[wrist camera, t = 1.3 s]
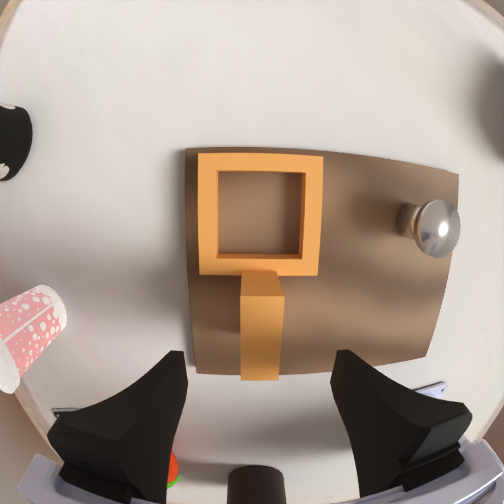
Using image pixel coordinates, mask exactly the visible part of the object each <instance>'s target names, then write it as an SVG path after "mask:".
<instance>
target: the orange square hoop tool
mask: <svg viewBox="0 0 504 504" xmlns="http://www.w3.org/2000/svg"><path fill="white" fill-rule="evenodd" d="M218 172H279V173H301V174H302V185H301V216H300V238H299V254H222V253H218ZM322 193H323V157H322V156H309V155H294V154H273V153H198V243H199V272H200V275H242V278H241V294H240V346H241V380H278V376H279V365H280V354H281V342H282V329H283V315H284V300H285V296H284V293H283V290H282V286H281V283H280V280H279V277H278V276H317V274H318V262H319V249H320V234H321V216H322Z"/></svg>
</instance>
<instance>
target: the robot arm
mask: <svg viewBox="0 0 504 504" xmlns="http://www.w3.org/2000/svg"><path fill="white" fill-rule="evenodd" d="M330 384H331V388H332V393H333V397H334V400H335V403H336V405H337V408H338V410H339V413H340V415H341V418H342V420H343V422H344V425H345V427H346V430H347V433H348V436H349V439H350V442H351V446H352V451H353V455H354V460H355V465H356V470H357V477H358V483H359V492H360V498H359V499H355V500H351V501H347V502H340V503H332V504H474V503H475V502H477V501H478V500H479V499H480V498H482V497H483V496H484V495H486V494H487V493H488V492H489V491H490V490H492V489H493V488H494V489H493V490H492V491H491V492H490V493H489V494H488V495H487V496H486V497H484V498H483V499H482V500H481V501H479V502H478V503H477V504H504V465H503V464H502V462H501V461H500V459H499V458H498V456H497V455H496V454H495V452H494V451H493V450H492V448H491V447H490V446H489V444H488V443H487V442H486V441H485V440H484V439H480V440H479V439H476V440H475V441H474V442H473V443H471V442H470V441H469V440H468V439H467V437H466V436H465V435H464V432H465V431H466V430H467V428H468V426H469V425H470V423H471V420H472V413H471V412H470V411H469V410H468V408H467V407H466V406H465V405H464V403H460V402H453V401H446V400H442V399H441V397H442V395H443V393H444V391H445V389H446V387H447V383H446V382H443V383H439V384H436V385H433V386H430V387H426V388H423V389H419V390H416V391H413V390H411V389H409V388H407V387H405V386H403V385H401V384H399V383H397V382H395V381H393V380H392V379H390V378H388V377H387V376H385V375H384V374H382V373H381V372H379V371H378V370H376V369H375V368H373V367H372V366H371V365H369V364H368V363H367V362H365V361H364V360H363V359H361V358H360V357H359V356H357V355H356V354H355V353H353V352H352V351H351V350H349V349H346V350H337V353H336V358H335V362H334V367H333V371H332V376H331V380H330ZM187 388H188V379H187V373H186V366H185V359H184V352H183V351H172V350H171V351H170V352H169V353H168V354H166V355H165V356H164V357H163V358H162V359H161V360H160V361H159V362H158V363H157V364H156V365H155V366H154V367H153V368H151V369H150V370H149V371H148V372H147V373H146V374H145V375H144V376H142V377H141V378H140V379H138V380H137V381H136V382H135V383H133V384H132V385H130V386H129V387H127V388H126V389H124V390H123V391H121V392H119V393H118V394H116V395H114V396H112V397H110V398H108V399H106V400H104V401H102V402H99V403H97V404H94V405H92V406H89V407H86V408H83V409H79V410H75V411H71V412H67V413H62V414H60V415H59V417H58V418H57V420H56V421H55V423H54V424H53V426H52V427H51V429H50V430H49V432H48V434H47V437H48V440H49V442H50V444H51V445H52V447H53V448H54V450H55V451H56V452H57V453H58V455H59V456H60V457H61V458H62V460H63V461H64V462H65V463H64V465H63V467H61V466H60V465H58V464H57V463H55V462H54V461H51V460H49V459H47V458H45V457H44V456H42V455H40V454H36V455H35V456H34V458H33V460H32V461H31V463H30V465H29V467H28V468H27V470H26V472H25V474H24V475H23V477H22V479H21V481H20V483H19V484H18V486H17V488H16V491H17V492H18V493H19V494H20V495H22V496H23V497H24V498H25V499H26V500H27V501H29V502H30V503H31V504H166V494H167V482H168V472H169V465H170V457H171V451H172V445H173V440H174V436H175V433H176V430H177V426H178V423H179V420H180V417H181V414H182V410H183V407H184V404H185V400H186V394H187Z"/></svg>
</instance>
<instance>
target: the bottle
mask: <svg viewBox="0 0 504 504" xmlns="http://www.w3.org/2000/svg"><path fill="white" fill-rule="evenodd" d="M227 504H286V495H285V487H284V478H283V474H282V473H281V472H280V471H279V470H277V469H274V468H271V467H265V466H250V467H244V468H239V469H237V470H235V471H233V472H232V473H230V474H229V477H228V490H227Z"/></svg>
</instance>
